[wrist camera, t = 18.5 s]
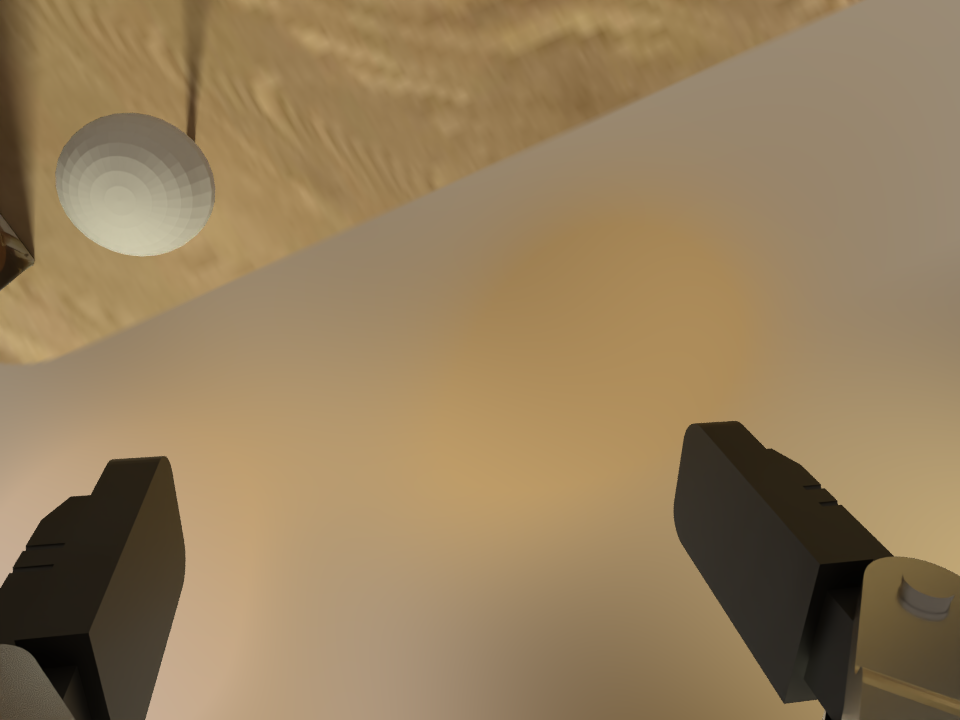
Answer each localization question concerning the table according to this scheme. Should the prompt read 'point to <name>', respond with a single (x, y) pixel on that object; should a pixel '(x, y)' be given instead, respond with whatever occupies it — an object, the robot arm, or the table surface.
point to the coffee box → (11, 255)
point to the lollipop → (135, 184)
